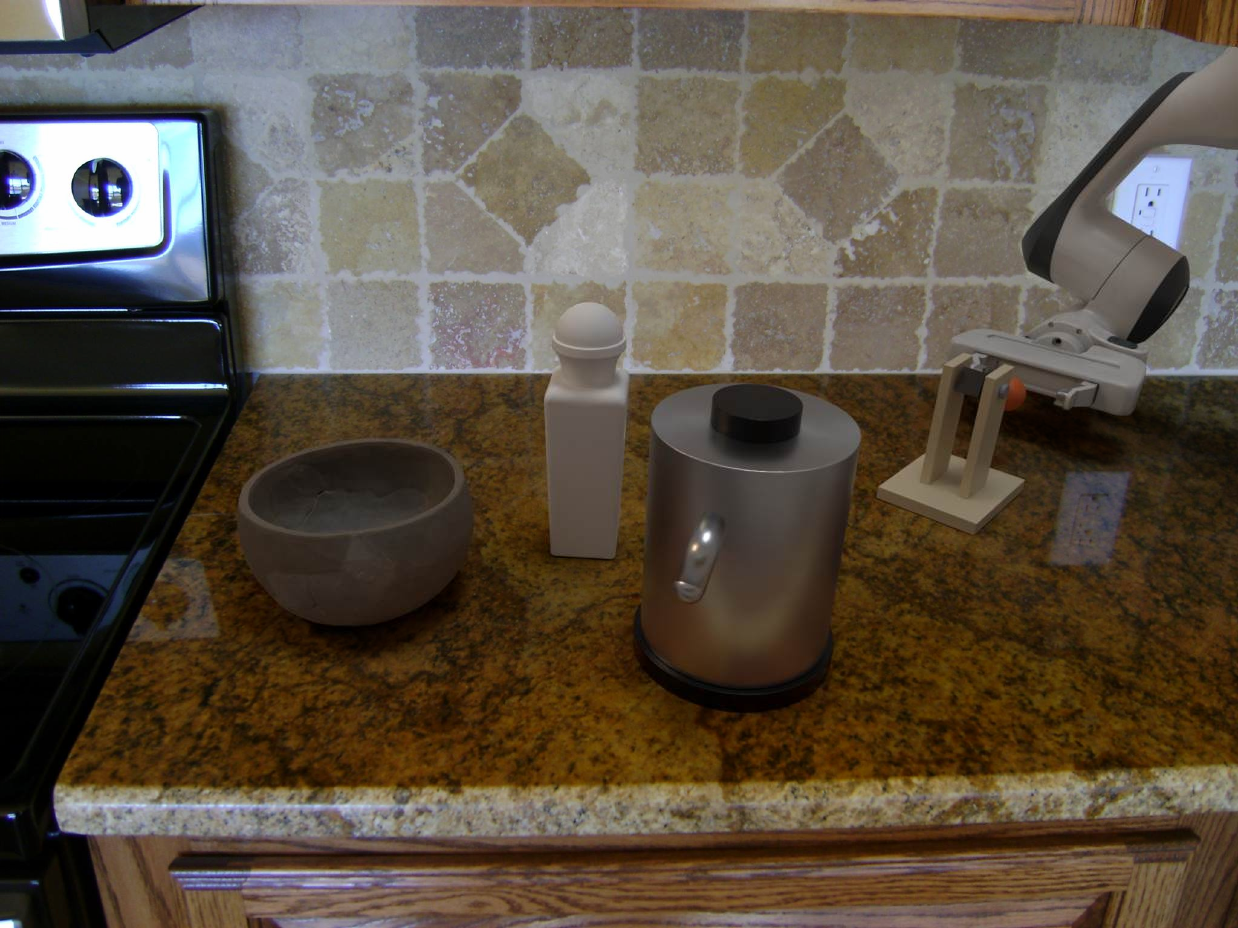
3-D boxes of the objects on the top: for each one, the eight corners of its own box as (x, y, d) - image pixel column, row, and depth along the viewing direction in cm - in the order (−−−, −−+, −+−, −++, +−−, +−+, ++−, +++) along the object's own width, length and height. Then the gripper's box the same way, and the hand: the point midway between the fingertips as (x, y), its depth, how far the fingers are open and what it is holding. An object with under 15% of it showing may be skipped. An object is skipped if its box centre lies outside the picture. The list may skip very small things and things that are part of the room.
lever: (989, 406, 99) (1000, 374, 99) (1022, 416, 97) (1035, 383, 96) (945, 394, 88) (958, 358, 87) (982, 406, 86) (996, 368, 85)
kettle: (779, 776, 59) (821, 501, 50) (574, 698, 65) (577, 439, 56) (862, 600, 77) (904, 371, 67) (693, 551, 82) (711, 334, 73)
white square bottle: (619, 563, 80) (628, 319, 70) (544, 559, 81) (542, 315, 70) (624, 524, 86) (633, 293, 76) (553, 520, 86) (553, 289, 76)
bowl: (290, 529, 84) (274, 428, 79) (488, 533, 84) (484, 433, 79) (218, 654, 68) (193, 538, 64) (462, 658, 69) (455, 543, 64)
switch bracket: (929, 458, 100) (955, 336, 94) (1022, 490, 94) (1056, 363, 88) (876, 497, 92) (900, 367, 86) (973, 535, 86) (1007, 399, 80)
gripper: (979, 308, 112) (928, 335, 103) (1165, 352, 100) (1126, 387, 91) (969, 358, 115) (918, 388, 105) (1147, 406, 103) (1108, 445, 94)
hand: (1016, 388), depth 98 cm, fingers open, 8 cm apart
